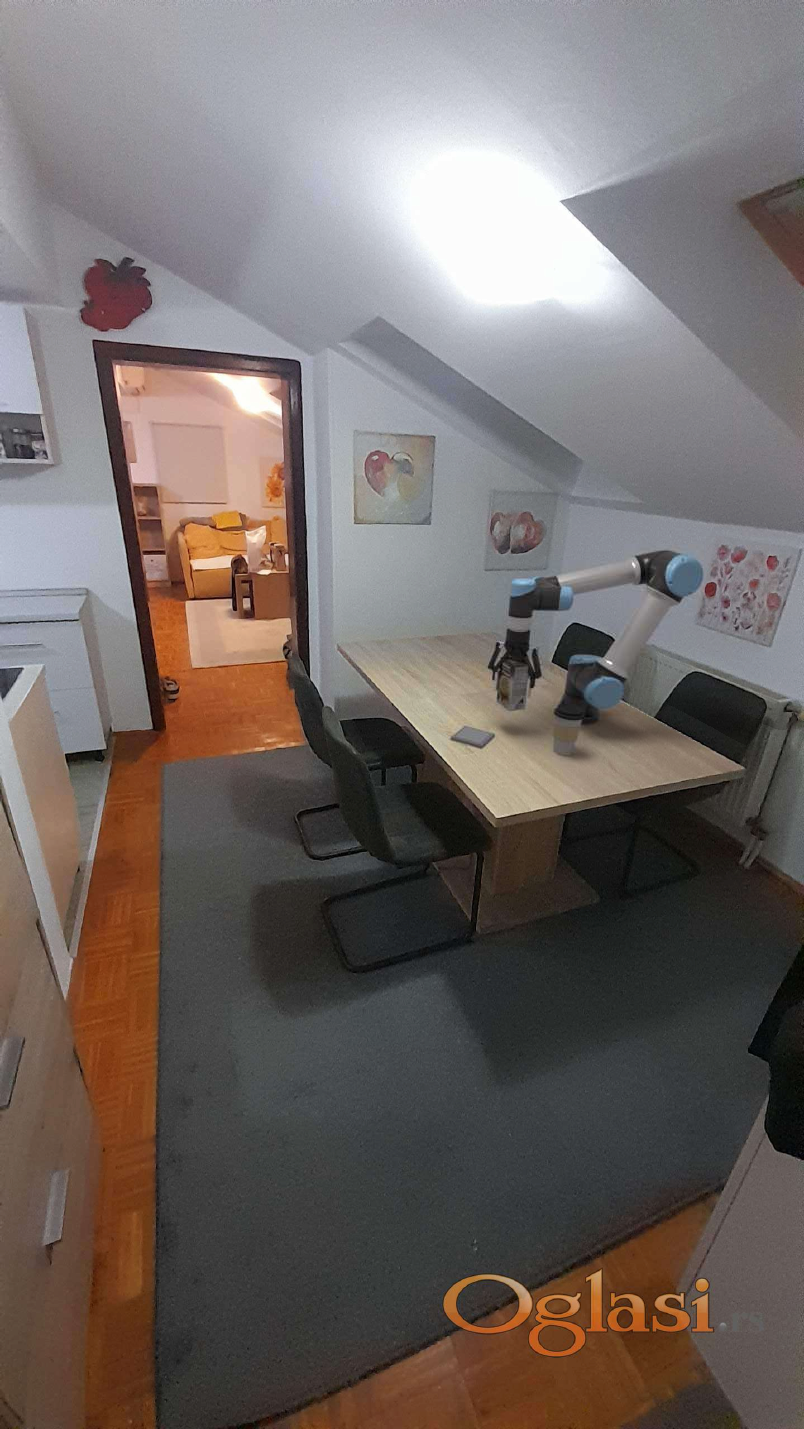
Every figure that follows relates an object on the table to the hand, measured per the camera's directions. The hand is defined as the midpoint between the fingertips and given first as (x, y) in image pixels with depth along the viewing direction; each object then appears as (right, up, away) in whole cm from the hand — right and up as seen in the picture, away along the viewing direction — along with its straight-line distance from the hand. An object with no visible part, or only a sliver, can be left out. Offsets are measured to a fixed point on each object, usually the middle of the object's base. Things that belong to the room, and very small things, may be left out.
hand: (511, 693), depth 195 cm
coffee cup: (+15, -19, -7) cm, 25 cm away
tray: (-13, -15, -1) cm, 20 cm away
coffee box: (0, -4, +2) cm, 5 cm away
